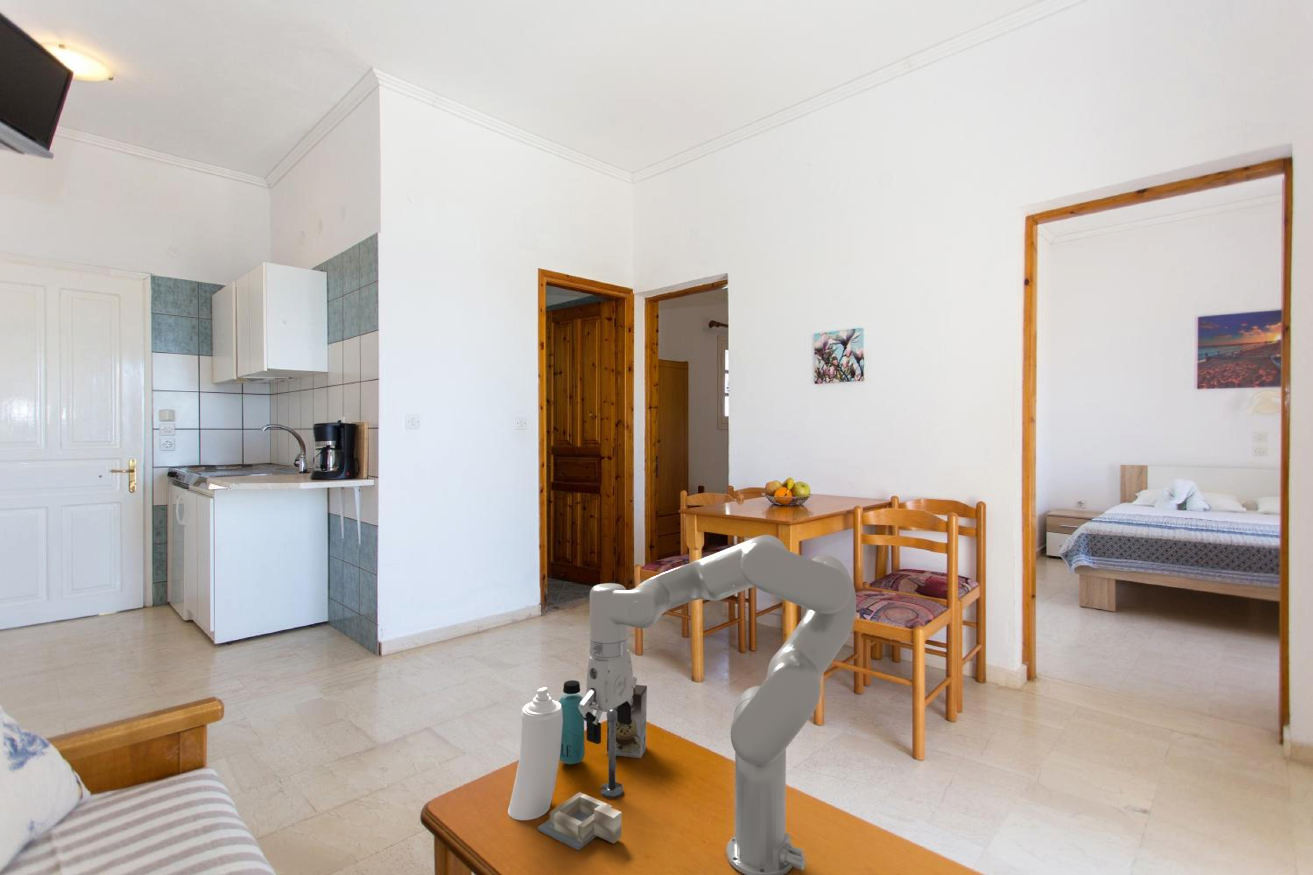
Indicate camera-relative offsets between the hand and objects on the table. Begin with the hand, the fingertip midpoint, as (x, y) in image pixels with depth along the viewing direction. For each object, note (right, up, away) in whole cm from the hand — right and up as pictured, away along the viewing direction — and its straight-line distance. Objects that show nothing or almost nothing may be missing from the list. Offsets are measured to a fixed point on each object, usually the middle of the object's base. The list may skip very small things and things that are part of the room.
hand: (609, 732), depth 127 cm
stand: (-1, -21, +15) cm, 26 cm away
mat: (-7, -21, +3) cm, 22 cm away
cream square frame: (-4, -20, +1) cm, 20 cm away
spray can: (-17, -21, +10) cm, 29 cm away
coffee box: (+2, -21, +35) cm, 40 cm away
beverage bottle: (-11, -21, +28) cm, 37 cm away
